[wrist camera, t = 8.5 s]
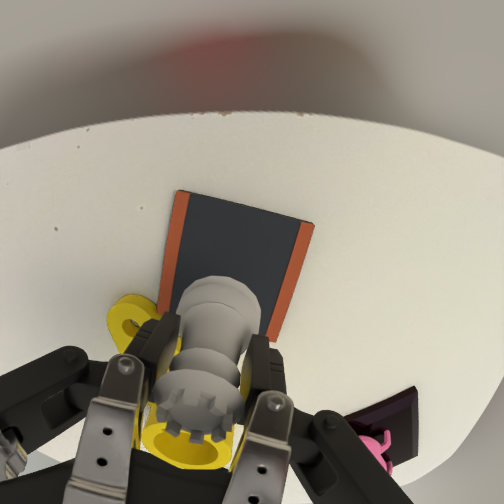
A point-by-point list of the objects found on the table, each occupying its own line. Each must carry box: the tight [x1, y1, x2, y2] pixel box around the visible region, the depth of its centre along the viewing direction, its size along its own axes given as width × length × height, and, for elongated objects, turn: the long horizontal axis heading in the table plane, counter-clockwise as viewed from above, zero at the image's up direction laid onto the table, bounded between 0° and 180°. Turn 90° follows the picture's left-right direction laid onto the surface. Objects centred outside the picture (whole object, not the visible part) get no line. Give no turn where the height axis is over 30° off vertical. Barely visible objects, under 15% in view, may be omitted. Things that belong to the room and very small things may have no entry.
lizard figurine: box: [344, 386, 419, 476], centre depth 25 cm, size 15×20×7 cm
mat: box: [157, 190, 315, 343], centre depth 21 cm, size 10×10×1 cm
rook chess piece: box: [152, 276, 261, 445], centre depth 12 cm, size 4×4×8 cm
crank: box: [107, 294, 234, 469], centre depth 22 cm, size 18×8×6 cm, turn 21°
